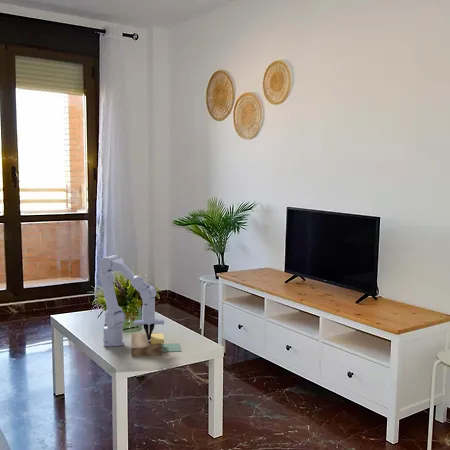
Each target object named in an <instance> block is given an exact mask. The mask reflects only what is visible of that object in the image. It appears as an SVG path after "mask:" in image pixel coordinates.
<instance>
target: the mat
mask: <svg viewBox="0 0 450 450" xmlns="http://www.w3.org/2000/svg"><path fill="white" fill-rule="evenodd" d="M180 344H181V343H177V342H176V343H175V342H173V343H161V346H162V353H176V352H182V349H181V348H182V347H181V345H180Z"/></svg>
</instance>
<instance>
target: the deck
mask: <svg viewBox="0 0 450 450" xmlns="http://www.w3.org/2000/svg"><path fill="white" fill-rule="evenodd" d="M159 333H160V332H159ZM159 333H158V332H157V333H154V334H159ZM130 342H131V343H130V345H131V347H130V350H131V351H130V352H131V354H130V357H142V356H143V357H145V356H147V357H149V356H162V353H163V352H162V346H161V344H162V343H160V344H151V339H150V340H148V339H147V334H146V333H134V334H131V341H130Z"/></svg>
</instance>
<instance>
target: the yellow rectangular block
mask: <svg viewBox="0 0 450 450" xmlns="http://www.w3.org/2000/svg"><path fill="white" fill-rule="evenodd" d="M160 343H161V344H165V338H164V333H162V332H159V334H155V333H152V334H151V344H160Z"/></svg>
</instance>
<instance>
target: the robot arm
mask: <svg viewBox="0 0 450 450" xmlns="http://www.w3.org/2000/svg"><path fill="white" fill-rule="evenodd" d="M98 265H99V270H98V276H99V280H100V284H101V288H102V292H103V296H104V301H105V305H106V310H105V312H104V326H103V337H102V338H103V339H102V341H103V347H115V346H116V347H117V346H121V347H122V346H124V345H125V344H124V343H125V340H124V337H123V336H124V334H123V333H124V332H123V322H124V321H125V320H126V314H125V312H124V311H123V308H122V307H121V306H119V304H118V299H117V295H116V291H115V286H114V283H113V278H112V274H113V273H114V272H115V271H117V272H120V273H121V274H122V275H123V276H124V277H126V278H127V279H128V280H129V281H130V285H131V286H132V287H133V288H134V289H135V290H136V291H137V292H139V296H140V298H141V301H142V319H138V320H136V319H135V321H134V326H136V325H138V326H143V329H144V332H145V334H147V339H148V340H150V339H151V334H153V331H154V330H155V325H165V320H164V319H159V318H157V319H156V315H155V314H156V312H155V311H156V307H155V306H156V302H155V301H156V299H155V297H156V296H157V295H158V291H157V289H156V287H155V286H154V285H150V283H148V282H146V281H145V280H144V277H143V276H140V275H136V274H135V272H133V271H132V269H130V268H129V266H127V265H126V263H125V262H124V259H123V258H121V256H120V255H119V254H112V255H109V256H104V257H102V258H101V259H100V260H99V262H98ZM105 324H106V325H107V326H105Z"/></svg>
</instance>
